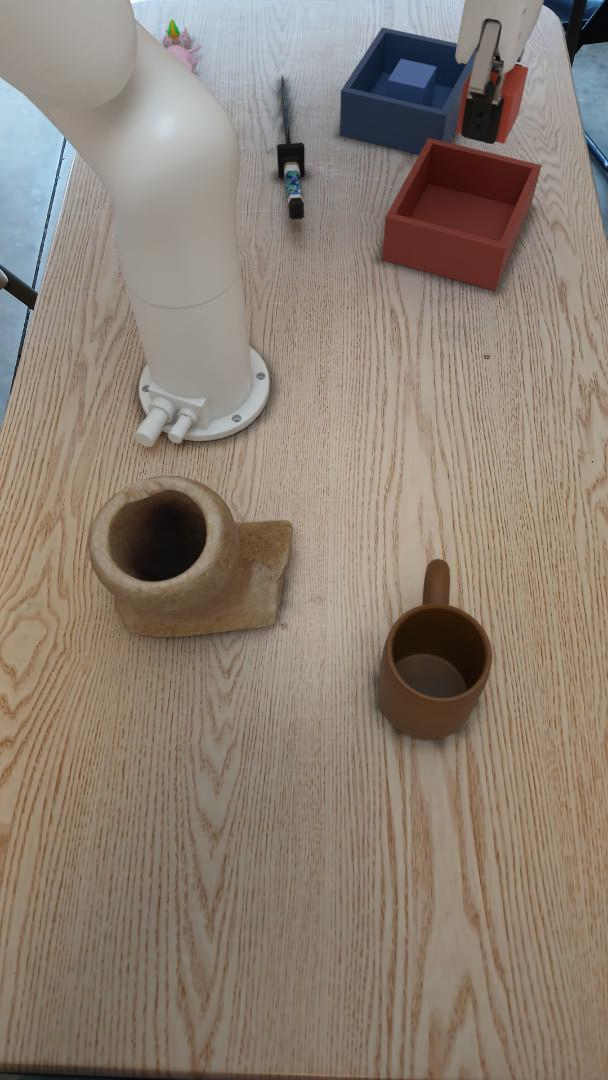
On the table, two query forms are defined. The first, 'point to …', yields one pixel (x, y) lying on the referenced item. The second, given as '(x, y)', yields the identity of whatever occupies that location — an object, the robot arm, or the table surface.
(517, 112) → the red block
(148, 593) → the stone cup
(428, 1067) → the table surface
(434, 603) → the mug
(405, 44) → the blue bin
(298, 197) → the knife
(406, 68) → the blue block
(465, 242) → the red bin
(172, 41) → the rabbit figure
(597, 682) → the table surface
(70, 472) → the table surface
